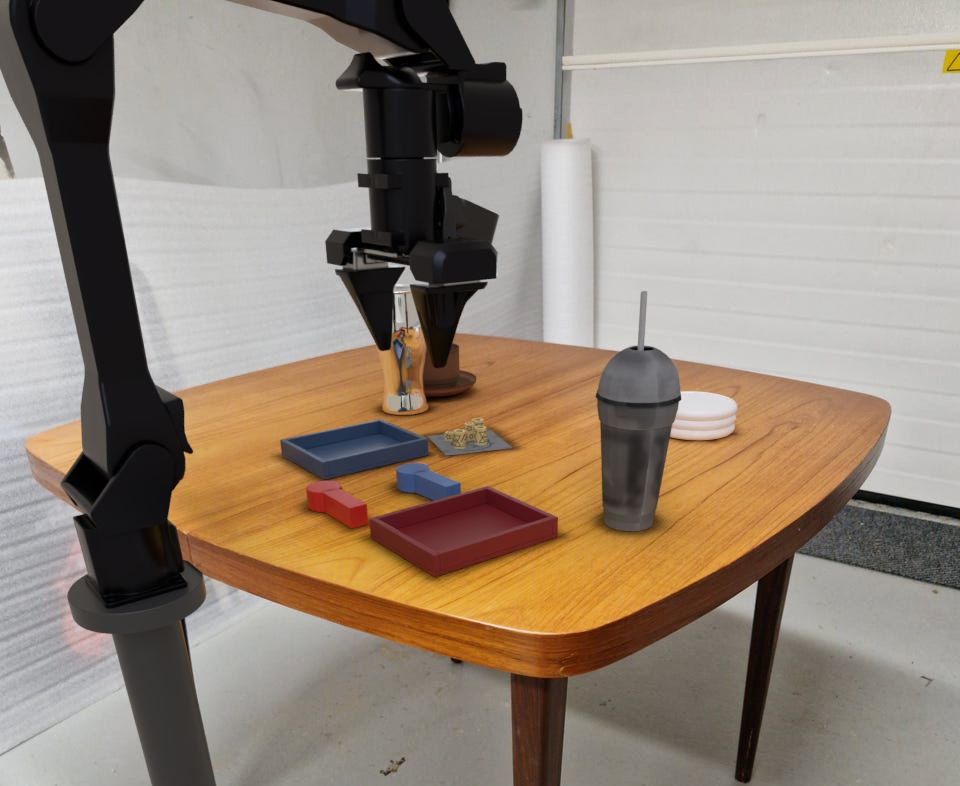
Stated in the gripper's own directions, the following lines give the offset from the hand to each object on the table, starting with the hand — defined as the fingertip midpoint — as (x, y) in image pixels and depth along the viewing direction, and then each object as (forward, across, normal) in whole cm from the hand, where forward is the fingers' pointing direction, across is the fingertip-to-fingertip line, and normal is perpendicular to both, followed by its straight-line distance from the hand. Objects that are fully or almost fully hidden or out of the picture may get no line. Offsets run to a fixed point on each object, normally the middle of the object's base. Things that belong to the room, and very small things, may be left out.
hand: (411, 358), depth 76 cm
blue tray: (+14, +17, -2) cm, 22 cm away
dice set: (+14, +13, -15) cm, 24 cm away
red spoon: (+14, +2, +7) cm, 16 cm away
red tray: (+14, -10, +1) cm, 17 cm away
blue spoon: (+14, +2, -2) cm, 14 cm away
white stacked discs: (+14, 0, -40) cm, 42 cm away
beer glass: (+14, +30, -17) cm, 37 cm away
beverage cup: (+14, -16, -13) cm, 25 cm away
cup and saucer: (+14, +35, -25) cm, 45 cm away
